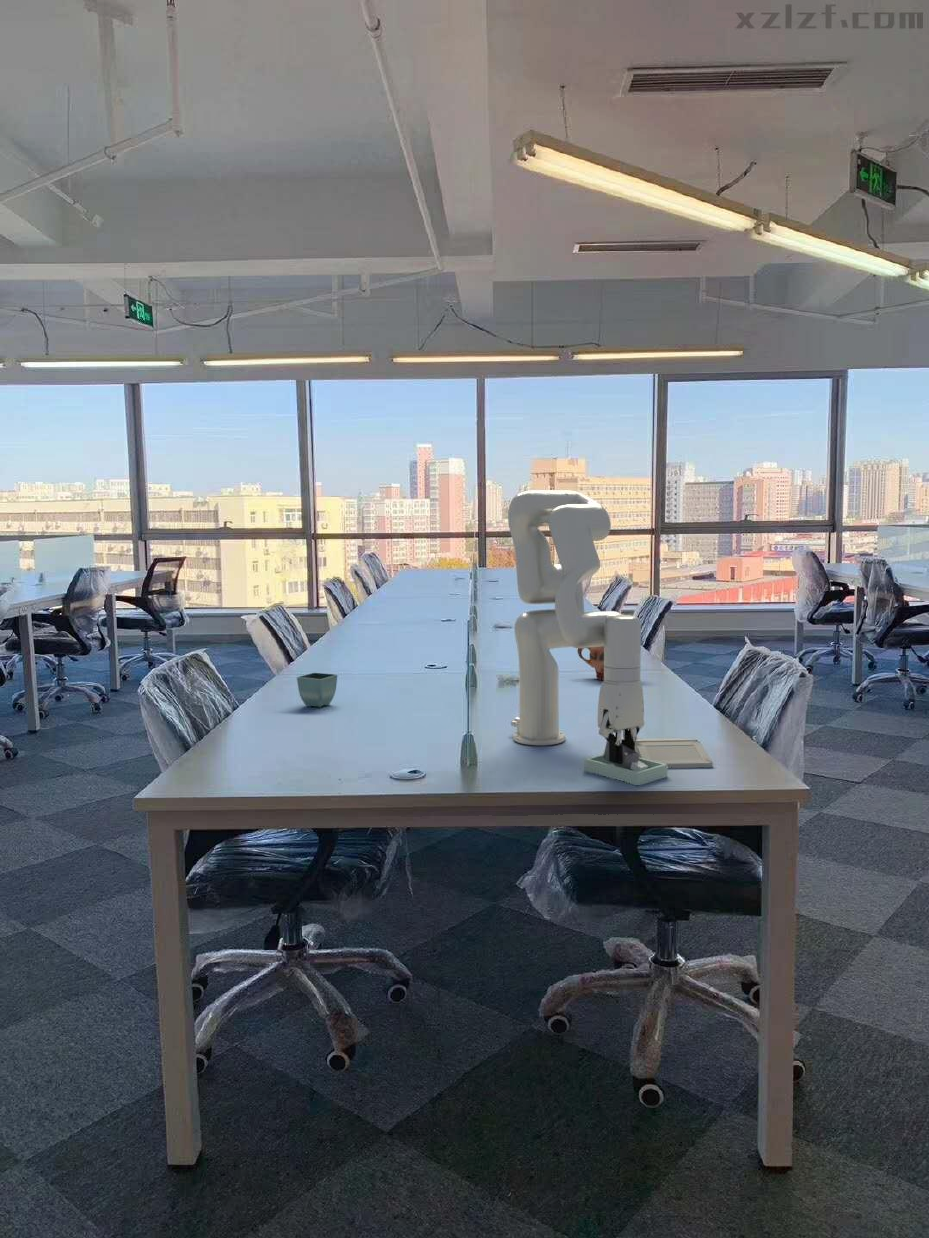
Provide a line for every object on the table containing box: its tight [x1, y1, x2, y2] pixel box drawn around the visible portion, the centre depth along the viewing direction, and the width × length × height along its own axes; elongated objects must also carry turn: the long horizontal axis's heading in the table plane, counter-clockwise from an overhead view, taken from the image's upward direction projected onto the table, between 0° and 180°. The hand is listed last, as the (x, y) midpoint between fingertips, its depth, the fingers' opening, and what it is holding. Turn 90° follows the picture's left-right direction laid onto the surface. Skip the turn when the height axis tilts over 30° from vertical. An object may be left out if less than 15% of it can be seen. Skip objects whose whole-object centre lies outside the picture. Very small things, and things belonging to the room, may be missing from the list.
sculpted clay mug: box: [576, 646, 604, 681], centre depth 295 cm, size 20×12×14 cm, turn 68°
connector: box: [603, 742, 648, 772], centre depth 185 cm, size 10×3×4 cm, turn 40°
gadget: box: [634, 737, 714, 769], centre depth 201 cm, size 23×15×4 cm, turn 0°
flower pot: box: [296, 672, 338, 708], centre depth 259 cm, size 9×9×9 cm
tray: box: [584, 753, 668, 786], centre depth 185 cm, size 14×9×3 cm, turn 40°
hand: (621, 759), depth 186 cm, fingers closed on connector, 3 cm apart
